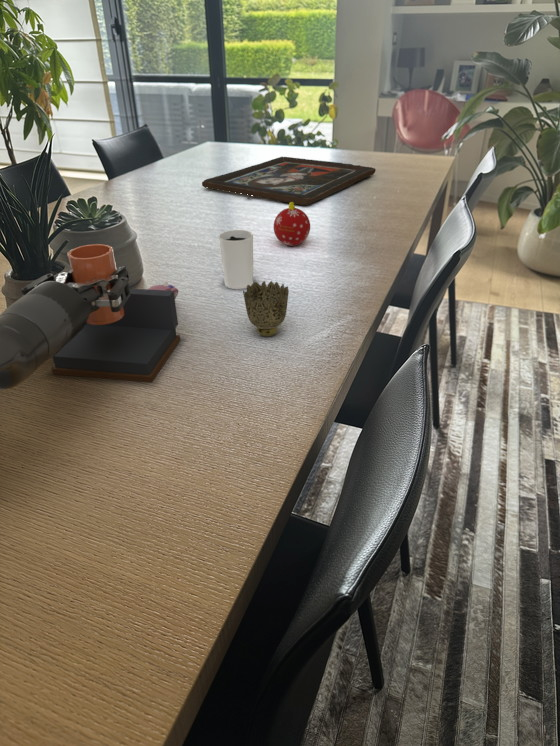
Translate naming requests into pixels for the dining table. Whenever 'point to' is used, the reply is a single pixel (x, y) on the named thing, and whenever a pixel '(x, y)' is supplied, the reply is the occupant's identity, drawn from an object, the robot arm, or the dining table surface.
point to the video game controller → (165, 288)
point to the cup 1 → (95, 275)
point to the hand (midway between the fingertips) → (103, 271)
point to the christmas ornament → (291, 226)
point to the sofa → (125, 341)
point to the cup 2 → (266, 306)
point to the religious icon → (290, 179)
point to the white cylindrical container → (237, 258)
